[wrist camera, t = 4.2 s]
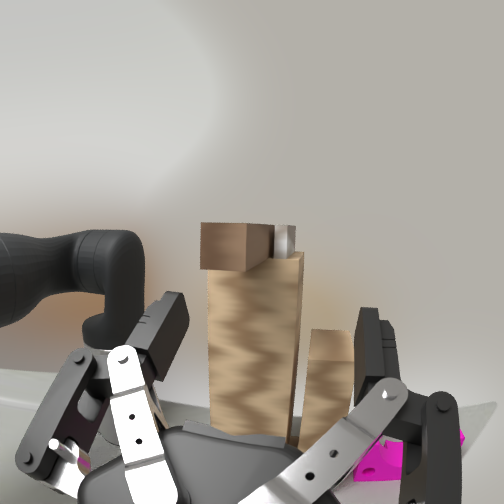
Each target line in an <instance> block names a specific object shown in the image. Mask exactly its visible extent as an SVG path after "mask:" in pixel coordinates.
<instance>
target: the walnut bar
mask: <svg viewBox="0 0 504 504" xmlns="http://www.w3.org/2000/svg"><path fill="white" fill-rule="evenodd" d="M274 237H275V225H266V224H250V223H249V224H248V223H202V222H201V245H200V246H201V247H200V269H206V270H222V271H239V272H246V271H248V270H250V269H251V268H253V267H255V266H256V265H258V264H260V263H262V262H263V261H265V260H267V259H268V258H270V257H272V256H274Z"/></svg>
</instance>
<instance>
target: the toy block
mask: <svg viewBox="0 0 504 504" xmlns="http://www.w3.org/2000/svg"><path fill="white" fill-rule="evenodd" d="M464 439H465V437H464V435H463V433H462V431H461V430H460V440H461V446H462V444H463V442H464ZM402 456H403V442H391V441H388V440H386V441H385V444H384V447H383V446H382V445H381V444H380V442H379V441H378V442H377V443H376V444H375V445H374V447H373V448H372V449H371V450H370V451H369V452H368V454H367V455H366V456H365V457H364V458H363V459H362V460H361V461H360V463H359V464H358V465H357V466H356V467H355V468H354V469H353V475H354V481H388V480H401V472H402Z"/></svg>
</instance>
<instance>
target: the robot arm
mask: <svg viewBox="0 0 504 504" xmlns="http://www.w3.org/2000/svg"><path fill="white" fill-rule="evenodd" d="M144 283H145V256H144V250H143V246H142V243H141V240H140V239H139V237H138V236H137V235H136V234H135V233H134V232H131V231H128V230H87V231H82V232H77V233H73V234H68V235H63V236H58V237H52V238H34V237H29V236H24V235H19V234H10V233H0V328H1V327H4V326H7V325H9V324H12V323H14V322H16V321H19V320H20V319H22V318H23V317H25V316H26V315H27V314H29V313H30V312H31V310H33V309H34V308H35V307H36V305H37V304H38V303H39V302H40V301H41V300H42V299H44V298H45V297H48V296H50V295H54V294H59V293H65V292H88V293H95V294H102V295H105V308H104V313H101V314H98V315H95V316H92V317H90V318H88V319H86V320H85V321H84V323H83V325H82V333H83V340H84V348H79V349H76V350H74V351H73V352H72V353H71V354H70V355H69V356H68V358H67V360H66V361H65V363H64V365H63V366H62V368H61V370H60V371H59V373H58V375H57V376H56V378H55V380H54V381H53V383H52V385H51V387H50V388H49V390H48V392H47V394H46V396H45V397H44V399H43V401H42V403H41V405H40V407H39V408H38V410H37V412H36V414H35V416H34V418H33V420H32V422H31V424H30V425H29V427H28V429H27V431H26V433H25V435H24V437H23V439H22V441H21V443H20V445H19V448H18V450H17V452H16V455H15V462H16V465H17V467H18V468H19V469H20V470H21V471H22V472H24V473H25V474H27V475H28V476H30V477H32V478H33V479H35V480H37V481H38V482H40V483H42V484H43V485H45V486H47V487H49V488H50V489H52V490H54V491H56V492H58V493H60V494H68V495H70V496H72V497H74V498H76V499H77V502H78V504H340V502H339V501H338V500H337V498H336V497H335V495H334V494H333V492H332V491H333V490H334V489H335V488H336V487H337V486H338V485H339V484H340V483H341V482H342V481H343V480H344V479H345V478H346V477H347V476H348V475H349V474H350V473H351V472H352V471H353V469H354V468H355V467H356V466H357V465H358V464H359V463H360V461H361V460H362V459H363V458H364V457H365V456H366V455H367V454H368V452H369V451H370V450H371V449H372V448H373V447H374V445H375V444H376V443H377V442H378V441H379V440H380V438H381V437H382V436H383V435H385V436H389V437H392V438H395V439H399V440H402V441H403V456H402V472H401V485H400V495H399V504H461V496H462V494H461V493H462V462H461V440H460V426H459V415H458V406H457V402H456V400H455V399H454V397H453V396H452V395H451V394H449V393H447V392H443V391H439V392H435V393H433V394H432V395H430V396H429V397H427V396H424V395H420V394H417V393H414V392H412V391H410V390H408V389H407V387H406V385H405V384H404V383H403V382H402V381H401V379H400V372H399V363H398V355H397V349H396V341H395V334H394V329H393V327H392V326H391V324H390V323H389V321H388V320H379V314H378V308H368V307H361V308H360V312H359V317H358V321H357V326H356V330H355V336H354V407H355V408H354V409H353V410H352V412H351V413H350V414H349V415H348V416H346V417H343V418H341V419H340V420H339V421H338V422H337V423H336V424H335V425H334V426H333V427H332V428H331V429H330V430H328V431H327V432H326V433H325V434H324V435H323V436H322V437H321V438H320V439H319V440H318V441H317V442H316V443H315V444H314V445H313V446H312V447H310V448H309V449H308V450H307V451H306V452H305V453H303V452H302V451H301V450H299V449H298V448H296V447H294V446H292V445H289V444H287V443H286V437H281V436H272V435H265V434H252V435H236V436H234V435H230V434H228V433H225V432H223V431H221V430H219V429H217V428H214V427H212V426H210V425H207V424H202V423H198V422H193V421H189V420H186V421H185V423H184V426H175V427H171V428H169V426H168V424H167V422H166V420H165V418H164V415H163V412H162V409H161V406H160V403H159V400H158V398H157V394H156V391H155V388H154V385H153V382H154V380H157V381H162V382H163V381H164V378H165V376H166V374H167V372H168V370H169V368H170V366H171V363H172V361H173V359H174V357H175V355H176V353H177V351H178V348H179V346H180V344H181V342H182V340H183V338H184V336H185V334H186V331H187V329H188V327H189V314H188V310H187V306H186V302H185V298H184V295H183V293H179V292H171V291H167V292H165V293H164V295H163V297H162V298H161V300H160V301H155V302H153V303H152V304H151V305H150V306H148V308H147V309H146V311H145V312H144ZM84 390H85V391H84ZM83 392H84V393H83ZM82 394H83V395H82ZM81 395H82V397H81ZM80 397H81V399H80ZM79 399H80V401H79ZM78 401H79V403H78ZM97 431H98V432H100V433H101V434H102V435H103V437H104V438H105V439H106V440H107V441H109V442H110V443H113V444H115V445H120V446H121V450H122V455H120V456H118V457H117V458H115V459H113V460H111V461H110V462H108V463H106V464H104V465H102V466H101V467H99V468H97V469H95V470H93V471H91V466H90V457H89V455H88V452H89V450H90V448H91V445H92V443H93V441H94V438H95V436H96V434H97ZM90 471H91V472H90Z"/></svg>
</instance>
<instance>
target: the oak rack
mask: <svg viewBox="0 0 504 504" xmlns="http://www.w3.org/2000/svg"><path fill="white" fill-rule="evenodd" d="M295 230H296V226H290V225H275V237H274V256H272V257H270V258H268V259H267V260H265V261H263V262H262V263H260V264H258V265H256V266H255V267H253V268H251V269H250V270H248V271H246V272H239V271H222V270H208V349H209V350H208V355H209V391H210V392H209V393H210V419H211V426H212V427H214V428H217V429H219V430H221V431H223V432H225V433H228V434H230V435H234V436H236V435H252V434H265V435H272V436H281V437H286V443H287V444H289V445H292V446H294V447H296V448H298V449H299V450H301V451H302V452H303V453H305V452H306V451H307V450H308V449H309V448H310V447H312V446H313V445H314V444H315V443H316V442H317V441H318V440H319V439H320V438H321V437H322V436H323V435H324V434H325V433H326V432H327V431H328V430H330V429H331V428H332V427H333V426H334V425H335V424H336V423H337V422H338V421H339V420H340V419H341V418H343V417H346V416H348V412H349V406H350V401H351V396H352V390H353V384H354V347H353V344H352V340H351V335H350V331H340V330H320V329H312V331H311V340H310V348H309V357H308V367H307V377H306V386H305V396H304V404H303V413H302V421H301V429H300V437H296V436H291V427H292V418H293V407H294V397H295V388H296V376H297V365H298V351H299V339H300V325H301V309H302V291H303V271H304V252H295Z"/></svg>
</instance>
